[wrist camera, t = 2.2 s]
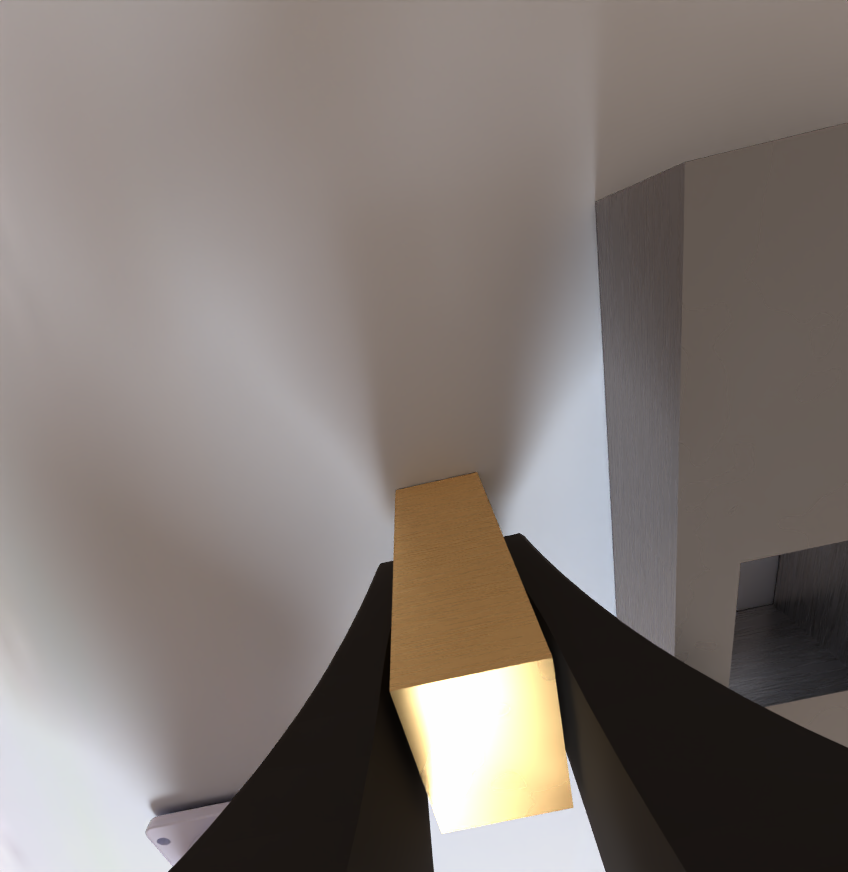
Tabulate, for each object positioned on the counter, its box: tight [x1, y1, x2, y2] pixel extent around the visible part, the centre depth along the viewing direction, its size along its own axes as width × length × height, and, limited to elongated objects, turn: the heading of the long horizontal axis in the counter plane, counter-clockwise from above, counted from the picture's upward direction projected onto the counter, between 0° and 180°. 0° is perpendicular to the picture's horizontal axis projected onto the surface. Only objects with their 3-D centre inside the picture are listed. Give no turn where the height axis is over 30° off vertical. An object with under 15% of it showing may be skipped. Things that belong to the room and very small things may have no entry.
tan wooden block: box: [390, 472, 573, 833], centre depth 9 cm, size 4×2×6 cm, turn 13°
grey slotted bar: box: [596, 123, 848, 747], centre depth 11 cm, size 22×7×3 cm, turn 12°
